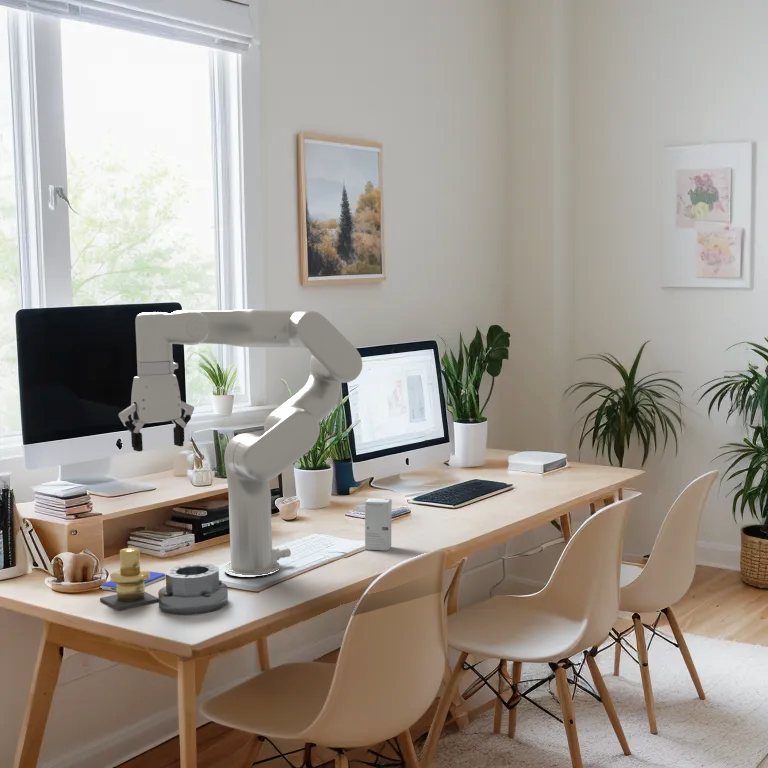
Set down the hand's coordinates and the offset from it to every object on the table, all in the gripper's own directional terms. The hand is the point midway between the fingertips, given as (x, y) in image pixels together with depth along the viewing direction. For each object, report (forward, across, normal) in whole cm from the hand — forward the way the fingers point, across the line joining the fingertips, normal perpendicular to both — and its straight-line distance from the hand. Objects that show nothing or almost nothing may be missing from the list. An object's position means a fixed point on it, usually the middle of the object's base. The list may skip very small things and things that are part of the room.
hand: (158, 448), depth 220 cm
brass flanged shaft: (+30, +11, +6) cm, 32 cm away
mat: (+30, +11, +6) cm, 33 cm away
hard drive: (+31, +5, -6) cm, 32 cm away
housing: (+30, +2, +17) cm, 35 cm away
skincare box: (+31, -54, +8) cm, 63 cm away
